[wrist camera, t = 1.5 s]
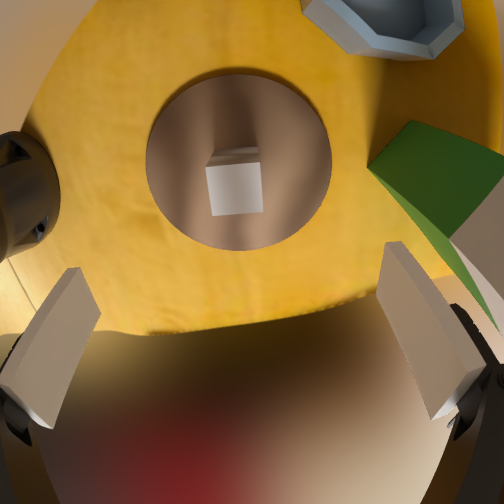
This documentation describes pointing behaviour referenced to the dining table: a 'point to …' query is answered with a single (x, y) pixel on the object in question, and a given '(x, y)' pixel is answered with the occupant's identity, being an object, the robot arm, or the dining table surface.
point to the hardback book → (452, 204)
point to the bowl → (388, 26)
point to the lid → (238, 162)
